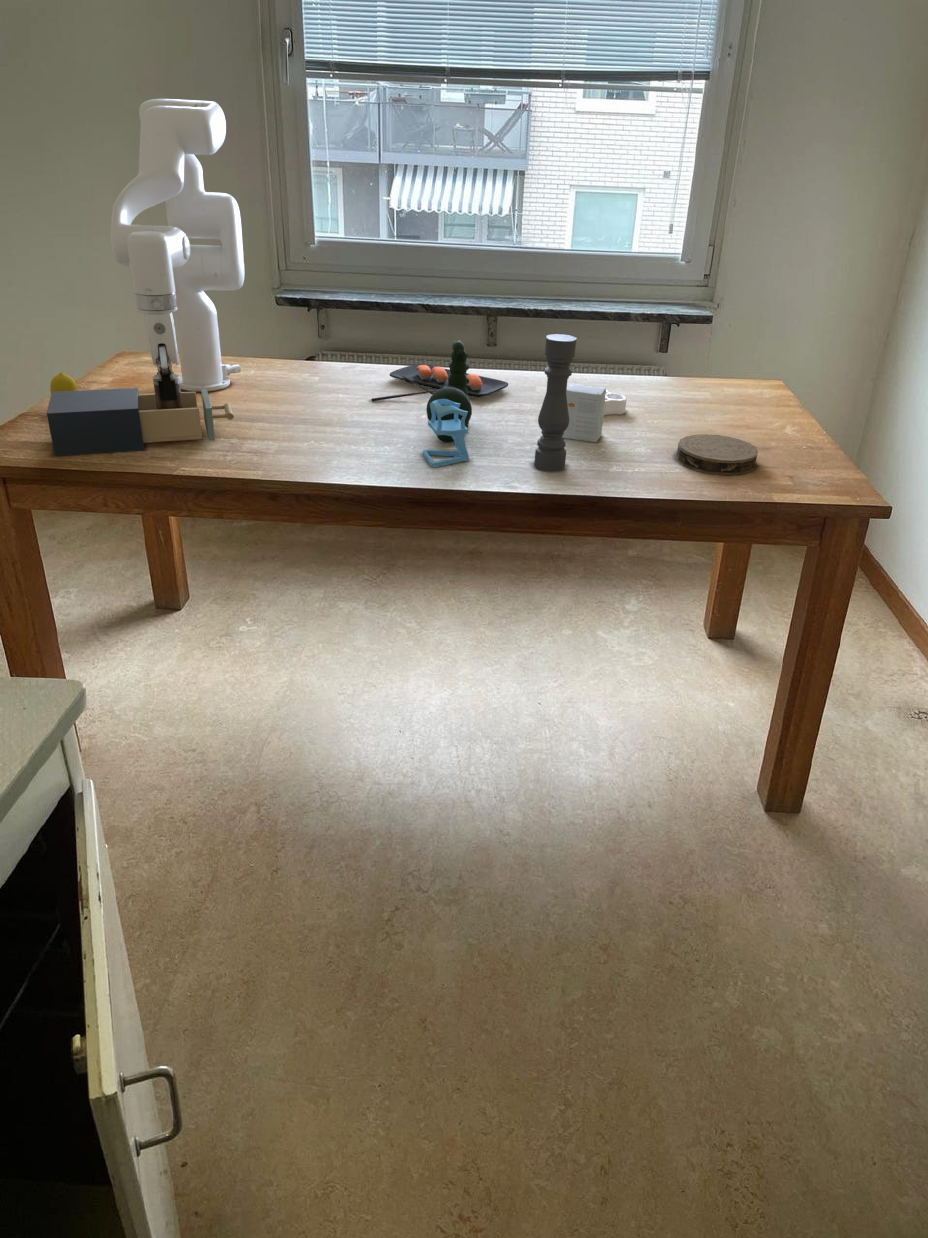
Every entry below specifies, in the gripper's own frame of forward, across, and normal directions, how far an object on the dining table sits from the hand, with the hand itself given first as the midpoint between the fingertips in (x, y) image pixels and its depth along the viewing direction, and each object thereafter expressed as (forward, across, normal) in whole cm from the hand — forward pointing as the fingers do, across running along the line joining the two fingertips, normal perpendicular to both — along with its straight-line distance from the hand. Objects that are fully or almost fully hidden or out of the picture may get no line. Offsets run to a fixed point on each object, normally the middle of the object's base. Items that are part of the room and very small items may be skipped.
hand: (168, 394), depth 180 cm
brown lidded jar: (+7, 0, 0) cm, 7 cm away
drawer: (+8, 0, -2) cm, 8 cm away
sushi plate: (+9, +21, -61) cm, 65 cm away
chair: (+9, -25, -52) cm, 58 cm away
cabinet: (+9, 0, +14) cm, 16 cm away
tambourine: (+9, -37, -106) cm, 112 cm away
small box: (+9, -17, -84) cm, 87 cm away
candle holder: (+9, -32, -71) cm, 78 cm away
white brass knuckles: (+9, +2, -94) cm, 95 cm away
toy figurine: (+9, -9, -57) cm, 59 cm away
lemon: (+9, +23, +21) cm, 33 cm away
